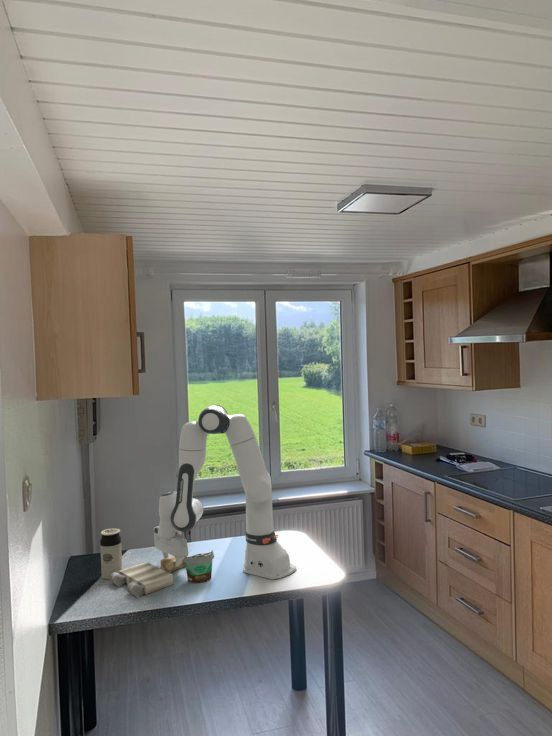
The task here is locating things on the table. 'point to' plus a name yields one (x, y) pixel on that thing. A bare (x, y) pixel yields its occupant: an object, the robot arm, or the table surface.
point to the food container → (199, 567)
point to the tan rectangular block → (171, 564)
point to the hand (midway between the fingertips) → (171, 563)
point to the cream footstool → (142, 578)
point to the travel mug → (110, 552)
